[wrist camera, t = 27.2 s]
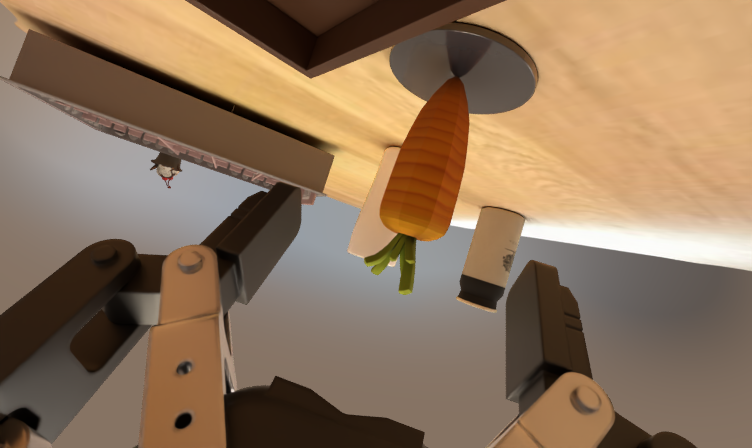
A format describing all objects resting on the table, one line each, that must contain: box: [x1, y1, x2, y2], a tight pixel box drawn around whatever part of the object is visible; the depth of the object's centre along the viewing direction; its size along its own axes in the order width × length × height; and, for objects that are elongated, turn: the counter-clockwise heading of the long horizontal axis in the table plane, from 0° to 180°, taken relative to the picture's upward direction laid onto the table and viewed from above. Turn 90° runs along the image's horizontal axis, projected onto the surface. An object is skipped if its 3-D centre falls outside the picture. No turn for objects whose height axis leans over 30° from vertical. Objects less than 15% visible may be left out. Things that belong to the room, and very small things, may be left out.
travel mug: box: [456, 207, 525, 313], centre depth 64 cm, size 8×8×18 cm
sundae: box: [150, 152, 182, 188], centre depth 85 cm, size 7×7×15 cm
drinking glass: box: [348, 147, 401, 267], centre depth 46 cm, size 7×7×15 cm
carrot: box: [364, 76, 469, 295], centre depth 23 cm, size 5×5×15 cm
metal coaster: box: [390, 22, 538, 114], centre depth 24 cm, size 10×10×1 cm
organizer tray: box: [0, 29, 334, 205], centre depth 61 cm, size 32×40×10 cm
